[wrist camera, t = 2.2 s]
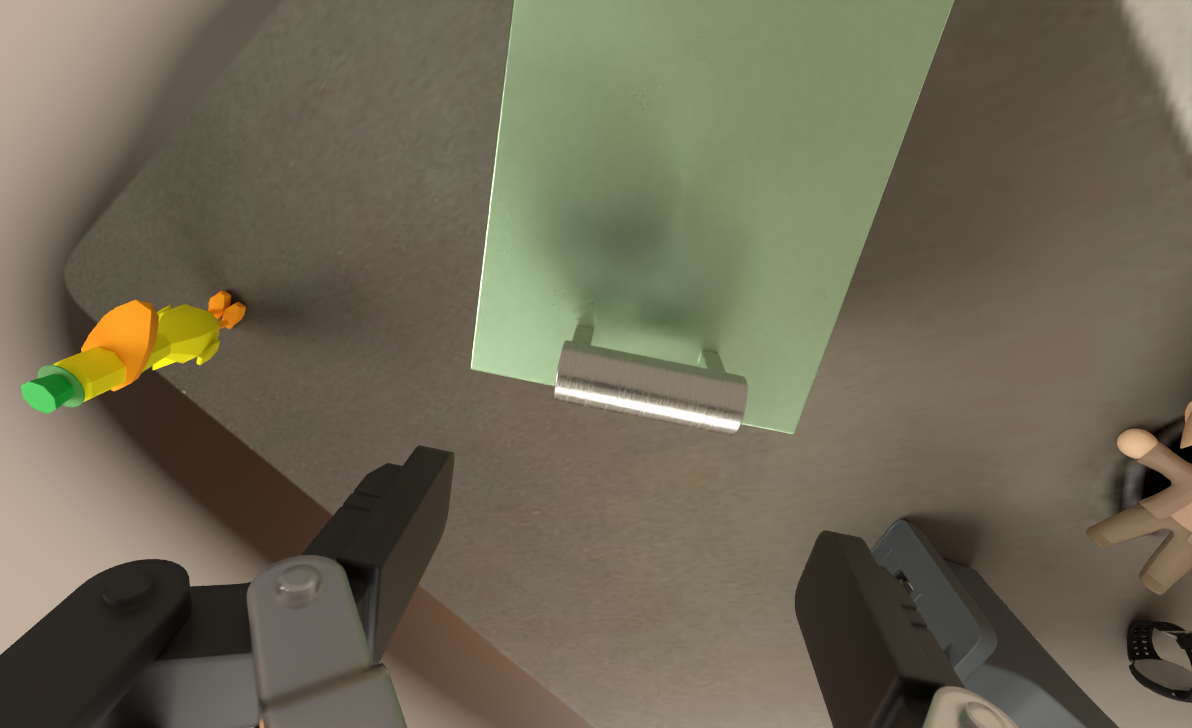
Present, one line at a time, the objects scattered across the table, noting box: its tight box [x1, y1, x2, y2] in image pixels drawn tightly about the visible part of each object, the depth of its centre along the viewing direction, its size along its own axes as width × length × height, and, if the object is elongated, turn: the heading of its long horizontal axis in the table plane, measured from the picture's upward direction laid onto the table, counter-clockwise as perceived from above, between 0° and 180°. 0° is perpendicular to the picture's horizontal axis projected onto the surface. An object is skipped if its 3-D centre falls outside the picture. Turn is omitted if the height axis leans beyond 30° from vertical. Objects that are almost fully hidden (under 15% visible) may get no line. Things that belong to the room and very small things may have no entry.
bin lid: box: [470, 0, 954, 436], centre depth 18 cm, size 17×14×6 cm
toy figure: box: [21, 291, 246, 413], centre depth 30 cm, size 7×4×12 cm, turn 139°
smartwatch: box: [1127, 621, 1192, 703], centre depth 38 cm, size 4×5×5 cm
